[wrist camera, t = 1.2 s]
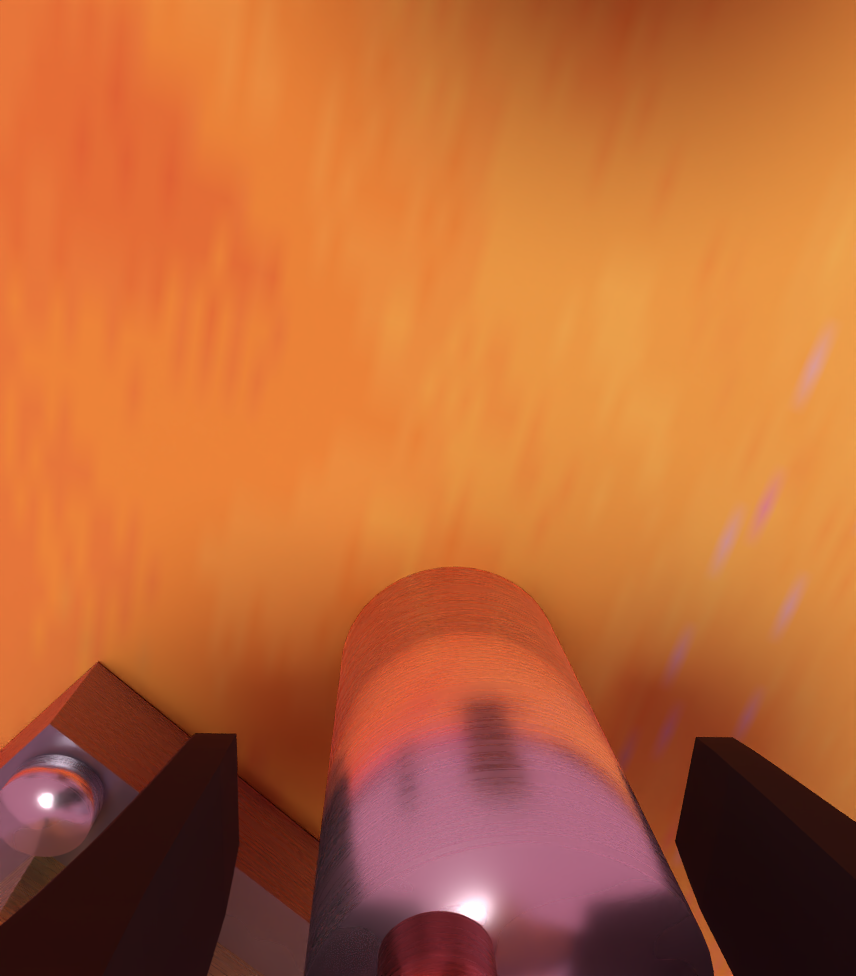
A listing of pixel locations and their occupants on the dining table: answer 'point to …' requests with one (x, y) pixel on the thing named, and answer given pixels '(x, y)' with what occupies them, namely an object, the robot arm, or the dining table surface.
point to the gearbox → (112, 787)
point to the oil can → (482, 805)
